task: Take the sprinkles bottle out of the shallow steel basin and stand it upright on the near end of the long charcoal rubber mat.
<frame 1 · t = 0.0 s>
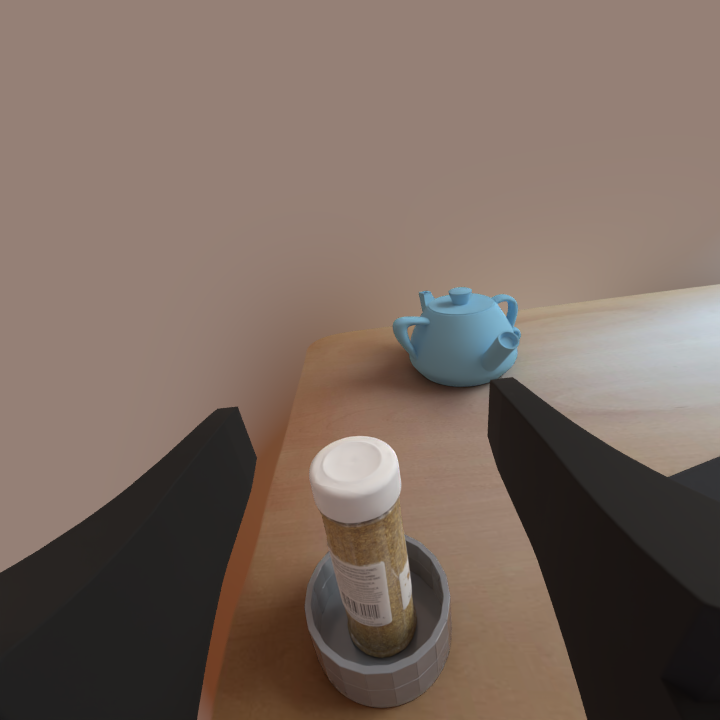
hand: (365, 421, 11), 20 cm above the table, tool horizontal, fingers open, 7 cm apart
teapot: (462, 368, 55), on the table
basin: (382, 624, 25), on the table
sprinkles bottle: (382, 623, 25), resting on basin
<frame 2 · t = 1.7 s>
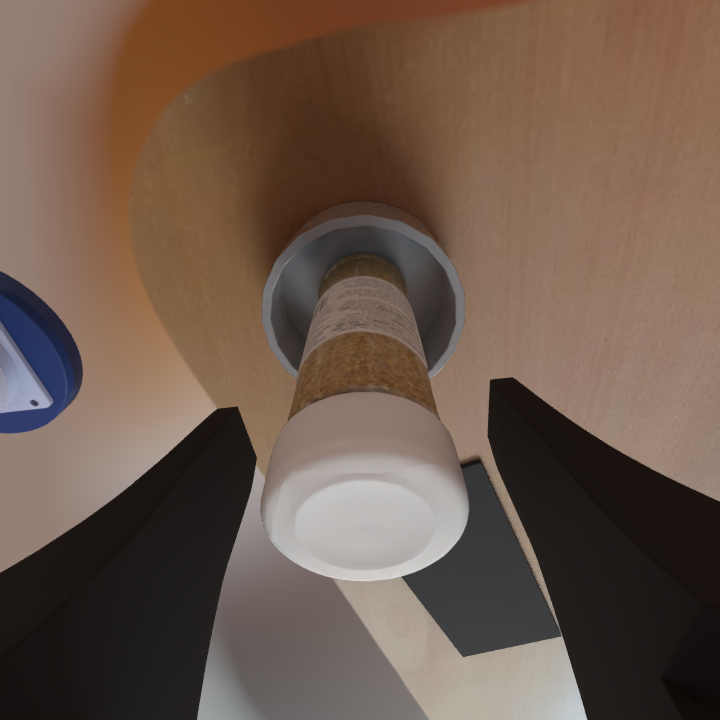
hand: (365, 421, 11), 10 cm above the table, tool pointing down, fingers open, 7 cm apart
mat: (469, 577, 33), on the table
basin: (363, 292, 20), on the table
sprinkles bottle: (363, 293, 20), resting on basin
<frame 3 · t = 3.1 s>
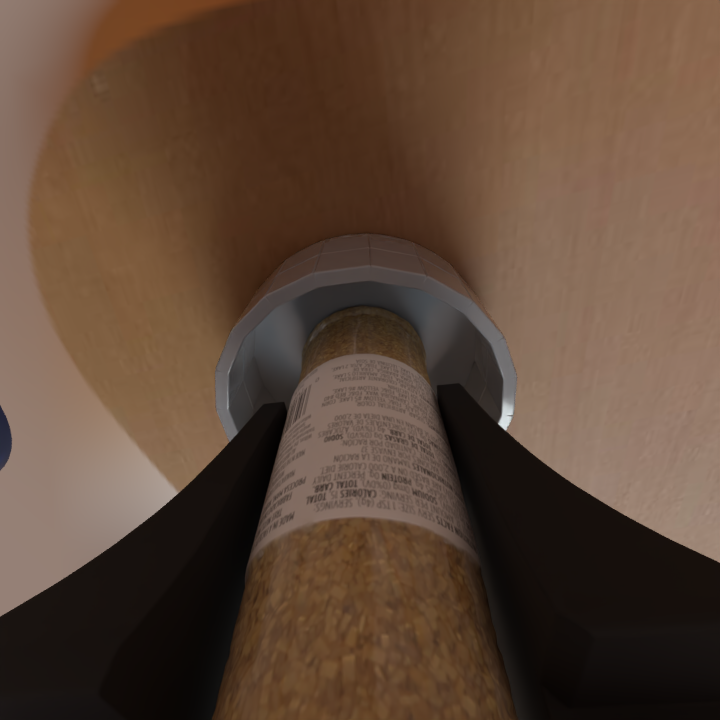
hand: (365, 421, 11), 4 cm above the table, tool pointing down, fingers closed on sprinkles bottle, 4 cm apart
basin: (364, 353, 15), on the table
sprinkles bottle: (364, 355, 14), resting on basin, touching gripper
when the fingers open (4 cm above the table, at t = 7.7 s): sprinkles bottle stays where it is, resting on mat.
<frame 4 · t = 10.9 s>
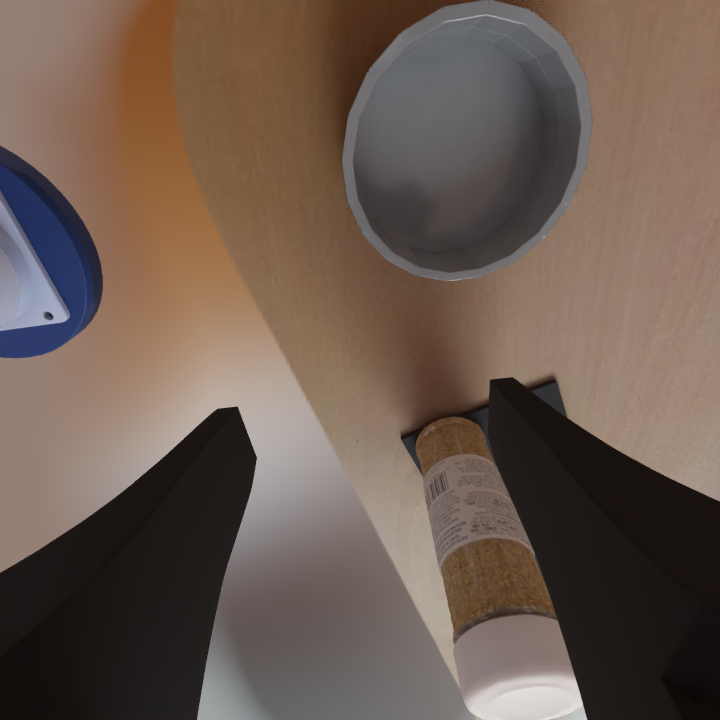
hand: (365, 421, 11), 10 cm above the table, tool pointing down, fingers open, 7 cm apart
mat: (525, 526, 30), on the table
basin: (445, 156, 17), on the table
sprinkles bottle: (448, 438, 25), resting on mat
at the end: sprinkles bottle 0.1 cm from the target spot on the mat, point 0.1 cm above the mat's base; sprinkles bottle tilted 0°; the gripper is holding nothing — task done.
